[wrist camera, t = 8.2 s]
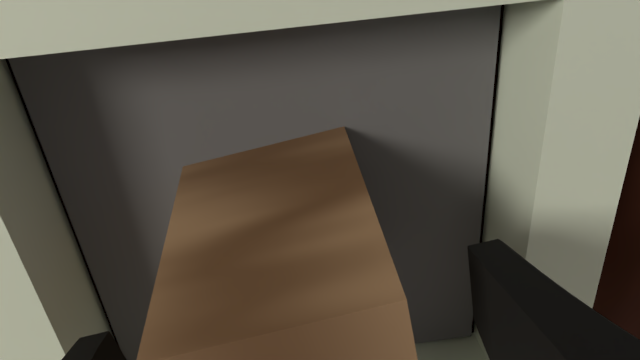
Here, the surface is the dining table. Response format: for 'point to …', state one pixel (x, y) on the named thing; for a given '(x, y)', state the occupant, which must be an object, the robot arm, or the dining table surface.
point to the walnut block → (277, 262)
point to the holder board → (301, 120)
